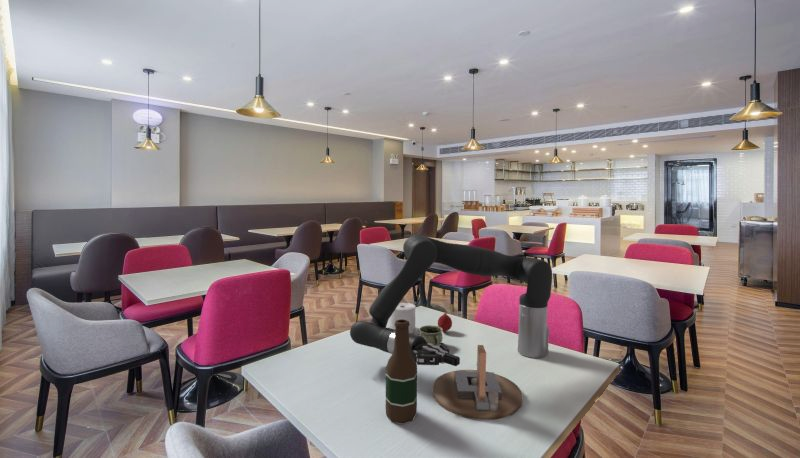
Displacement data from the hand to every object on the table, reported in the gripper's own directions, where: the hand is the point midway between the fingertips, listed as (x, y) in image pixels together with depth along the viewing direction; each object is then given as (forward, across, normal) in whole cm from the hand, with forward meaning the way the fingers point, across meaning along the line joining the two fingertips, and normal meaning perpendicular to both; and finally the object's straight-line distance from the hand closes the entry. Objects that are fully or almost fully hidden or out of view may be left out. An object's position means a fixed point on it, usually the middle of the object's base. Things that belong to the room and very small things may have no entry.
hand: (458, 361), depth 101 cm
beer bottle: (-7, +15, -11) cm, 20 cm away
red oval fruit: (-31, -42, -10) cm, 53 cm away
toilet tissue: (-46, -33, -10) cm, 58 cm away
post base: (+2, -6, -11) cm, 13 cm away
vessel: (-27, -27, -11) cm, 40 cm away
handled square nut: (+4, -4, -9) cm, 11 cm away
